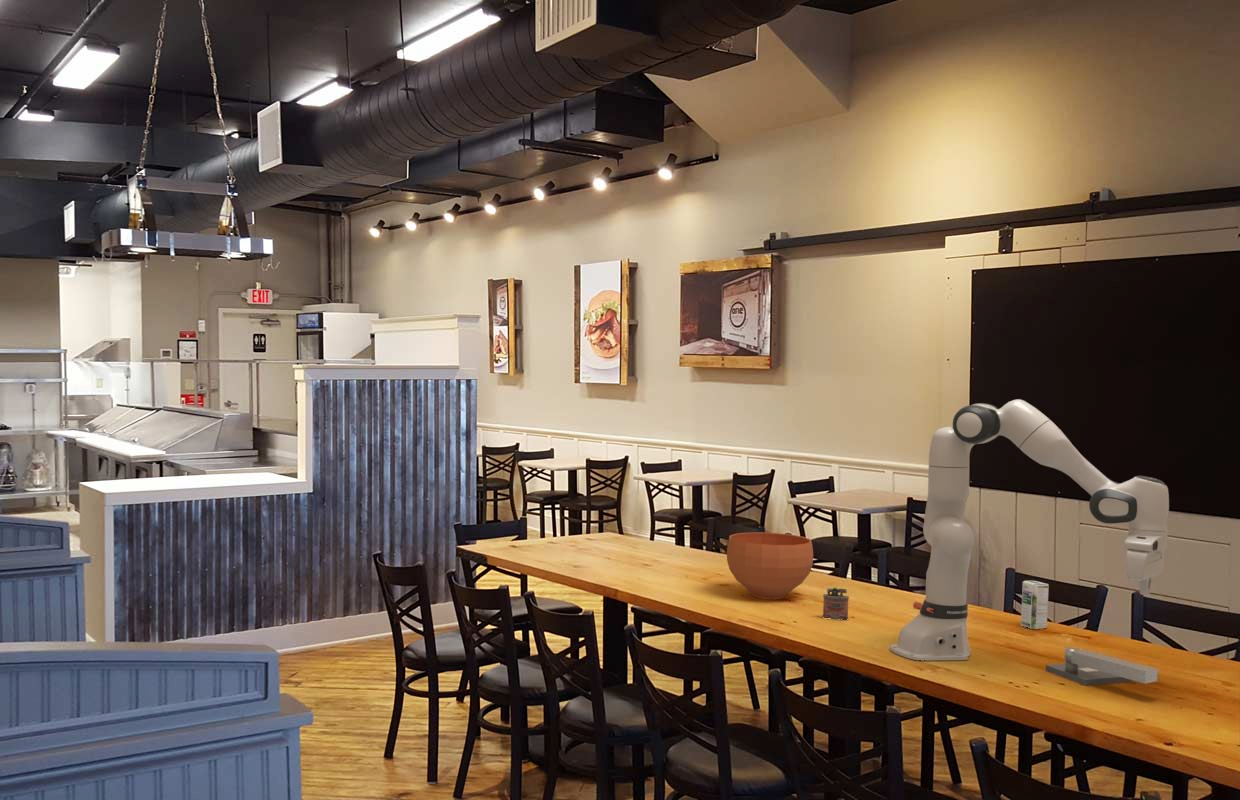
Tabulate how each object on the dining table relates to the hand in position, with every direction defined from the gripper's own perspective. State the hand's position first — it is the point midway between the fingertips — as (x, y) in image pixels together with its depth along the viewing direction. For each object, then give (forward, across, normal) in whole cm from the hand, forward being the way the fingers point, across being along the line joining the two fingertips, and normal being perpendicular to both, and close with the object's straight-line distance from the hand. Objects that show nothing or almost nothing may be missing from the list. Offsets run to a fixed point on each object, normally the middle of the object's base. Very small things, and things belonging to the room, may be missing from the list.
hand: (1144, 594), depth 257 cm
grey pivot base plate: (+24, -3, -10) cm, 26 cm away
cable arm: (+19, +9, -6) cm, 22 cm away
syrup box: (+24, -44, -43) cm, 66 cm away
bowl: (+25, -19, -126) cm, 130 cm away
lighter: (+25, -6, -92) cm, 95 cm away
